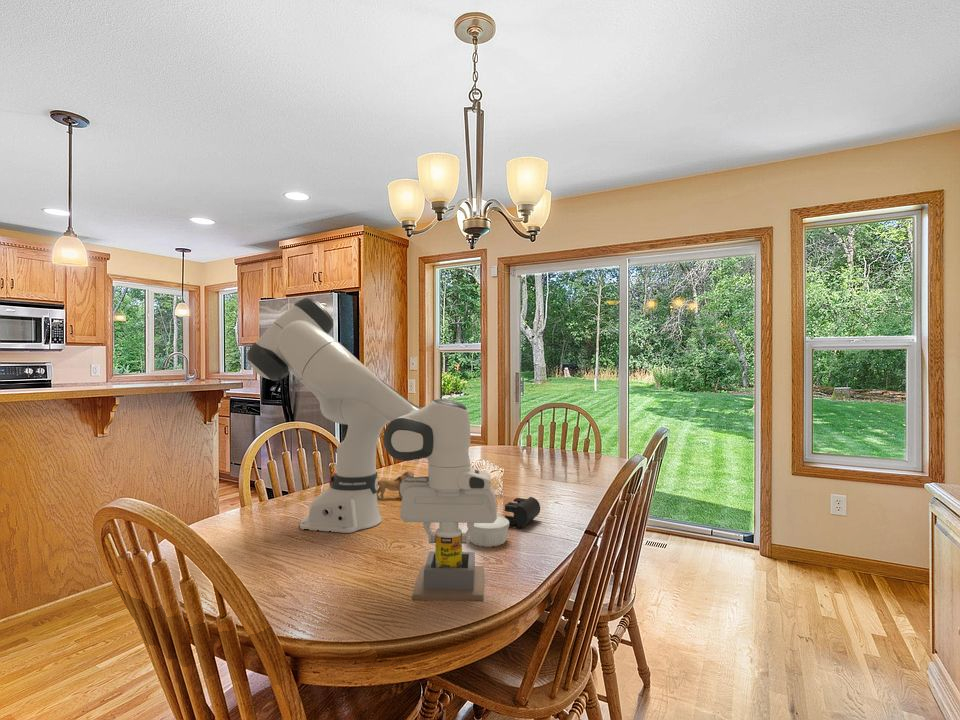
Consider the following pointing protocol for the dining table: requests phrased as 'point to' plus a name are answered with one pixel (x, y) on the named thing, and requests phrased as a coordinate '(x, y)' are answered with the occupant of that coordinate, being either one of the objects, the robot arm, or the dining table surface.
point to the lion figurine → (392, 484)
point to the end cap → (522, 511)
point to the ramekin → (490, 533)
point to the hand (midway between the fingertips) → (448, 542)
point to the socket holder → (450, 580)
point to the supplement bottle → (448, 546)
